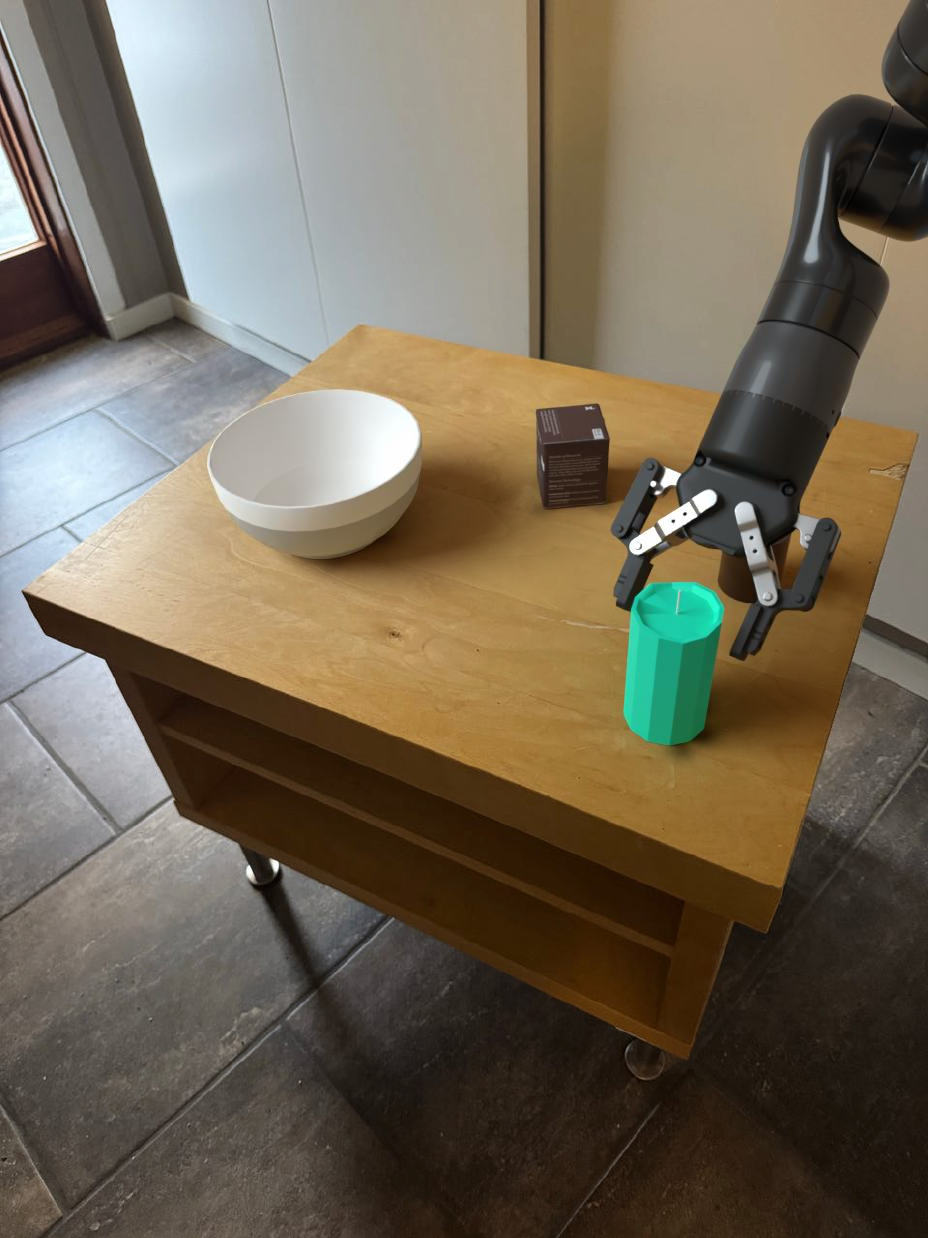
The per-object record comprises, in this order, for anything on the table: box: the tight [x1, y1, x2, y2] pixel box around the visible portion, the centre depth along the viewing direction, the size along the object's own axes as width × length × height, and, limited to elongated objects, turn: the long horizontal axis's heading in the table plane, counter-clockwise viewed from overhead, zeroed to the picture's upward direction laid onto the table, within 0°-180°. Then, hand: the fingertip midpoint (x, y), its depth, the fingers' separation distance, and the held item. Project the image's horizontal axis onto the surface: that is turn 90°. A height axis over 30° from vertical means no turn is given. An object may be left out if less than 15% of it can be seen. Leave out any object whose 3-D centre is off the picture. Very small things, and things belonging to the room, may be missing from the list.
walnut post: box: [717, 532, 793, 604], centre depth 76 cm, size 5×5×6 cm
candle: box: [622, 581, 725, 747], centre depth 64 cm, size 6×6×12 cm
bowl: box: [206, 388, 423, 560], centre depth 85 cm, size 19×19×9 cm
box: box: [535, 403, 611, 510], centre depth 86 cm, size 6×6×7 cm
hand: (678, 633), depth 63 cm, fingers open, 8 cm apart
